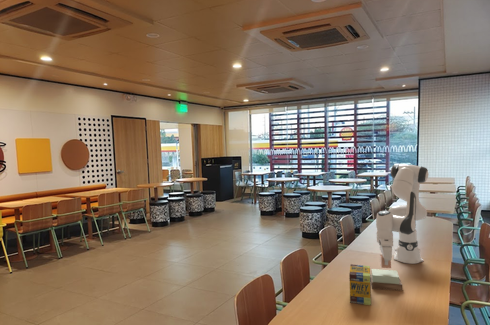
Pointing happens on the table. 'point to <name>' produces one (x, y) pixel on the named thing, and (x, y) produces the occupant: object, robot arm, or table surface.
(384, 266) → the block
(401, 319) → the table surface
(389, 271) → the tower top
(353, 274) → the protein box
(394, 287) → the tower base
